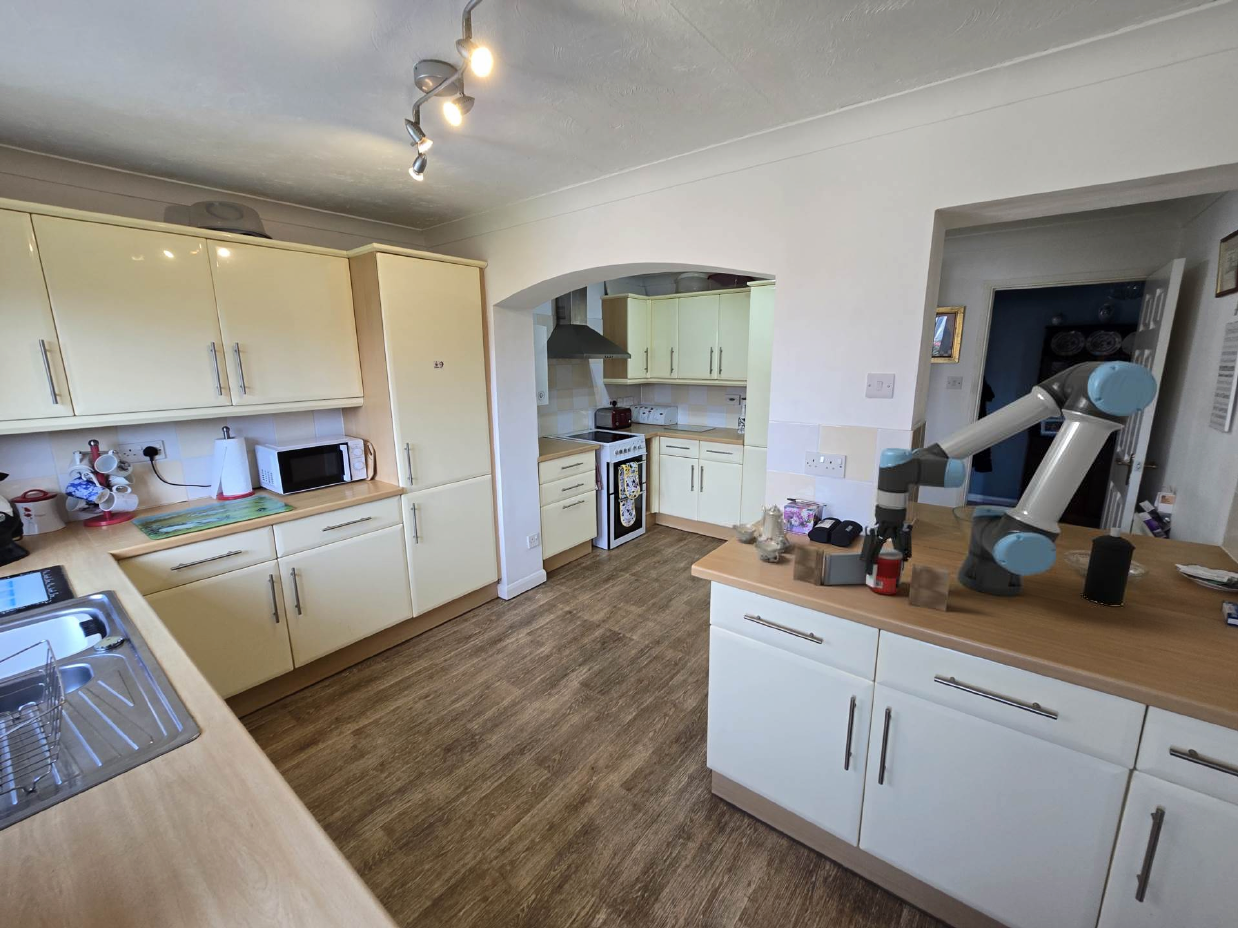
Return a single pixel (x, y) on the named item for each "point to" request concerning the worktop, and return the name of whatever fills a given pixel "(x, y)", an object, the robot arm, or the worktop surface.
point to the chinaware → (766, 534)
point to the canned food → (888, 571)
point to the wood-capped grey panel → (924, 588)
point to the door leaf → (844, 569)
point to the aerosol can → (1108, 568)
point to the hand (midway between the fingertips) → (883, 583)
